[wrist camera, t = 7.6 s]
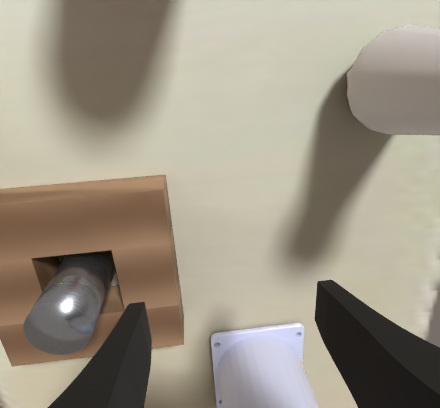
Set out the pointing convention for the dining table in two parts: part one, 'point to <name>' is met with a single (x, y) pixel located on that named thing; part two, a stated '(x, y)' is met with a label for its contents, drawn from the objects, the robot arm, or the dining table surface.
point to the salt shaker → (398, 82)
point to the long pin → (70, 303)
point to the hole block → (83, 243)
